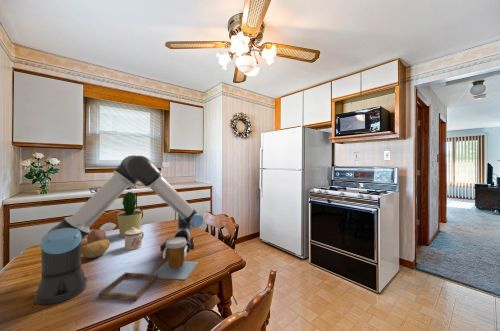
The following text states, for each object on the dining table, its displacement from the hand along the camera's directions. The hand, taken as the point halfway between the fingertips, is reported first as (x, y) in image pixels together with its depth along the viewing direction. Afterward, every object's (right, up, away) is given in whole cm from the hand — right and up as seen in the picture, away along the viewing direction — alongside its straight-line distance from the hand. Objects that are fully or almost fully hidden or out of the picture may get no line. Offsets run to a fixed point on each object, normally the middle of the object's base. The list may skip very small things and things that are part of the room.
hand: (174, 254), depth 97 cm
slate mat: (-1, -9, +5) cm, 10 cm away
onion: (-59, -8, +34) cm, 69 cm away
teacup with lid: (-34, -8, +31) cm, 47 cm away
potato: (-48, -8, +18) cm, 52 cm away
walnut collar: (-14, -9, -10) cm, 20 cm away
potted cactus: (-49, -7, +51) cm, 71 cm away
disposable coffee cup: (-1, -7, +5) cm, 9 cm away
